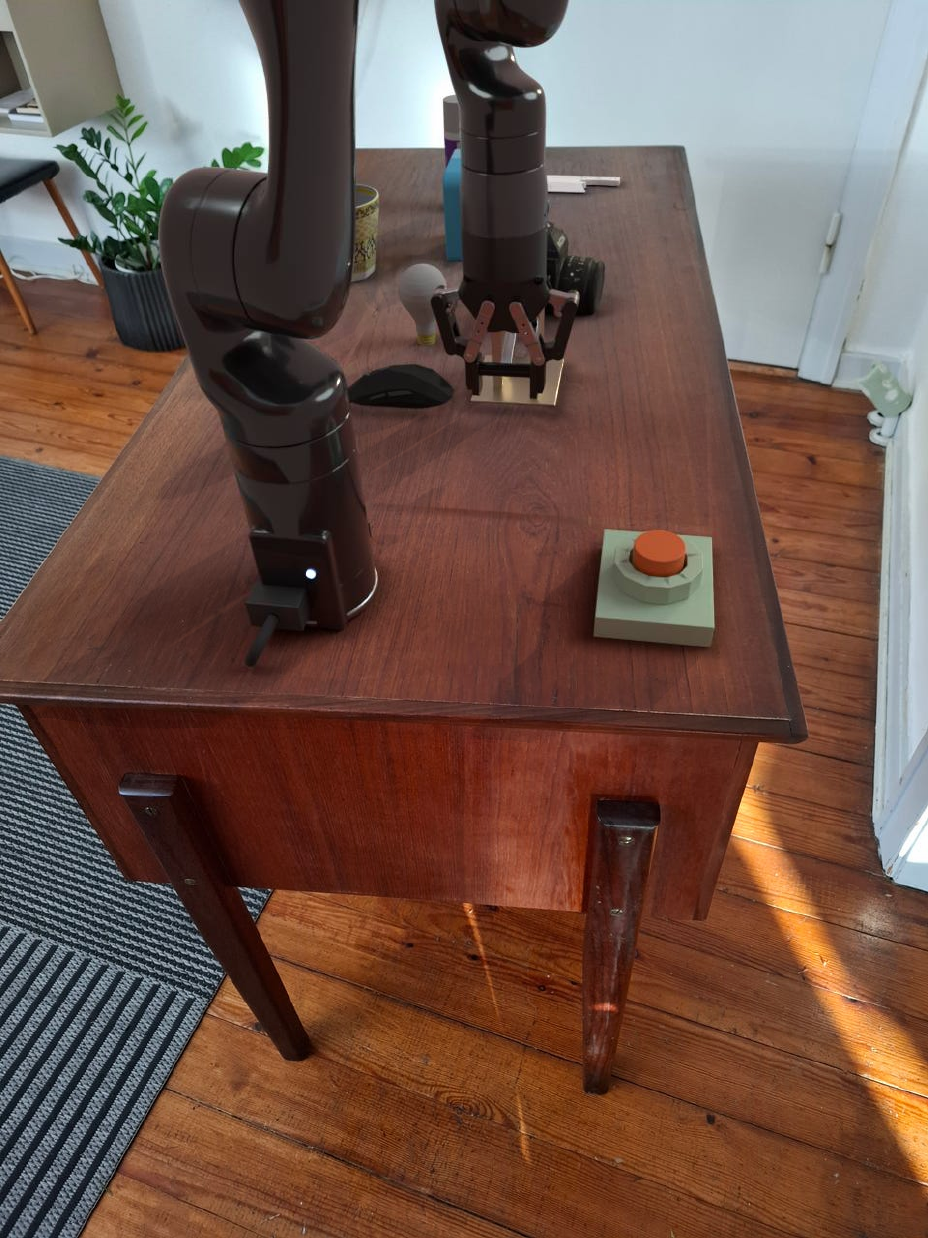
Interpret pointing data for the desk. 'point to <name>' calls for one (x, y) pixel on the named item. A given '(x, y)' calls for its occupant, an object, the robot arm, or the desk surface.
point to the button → (659, 553)
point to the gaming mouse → (401, 388)
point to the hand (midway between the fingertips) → (506, 392)
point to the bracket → (518, 379)
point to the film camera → (573, 272)
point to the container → (451, 126)
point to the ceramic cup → (365, 231)
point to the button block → (655, 595)
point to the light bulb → (421, 298)
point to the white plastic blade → (578, 183)
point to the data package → (452, 207)
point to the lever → (506, 362)
